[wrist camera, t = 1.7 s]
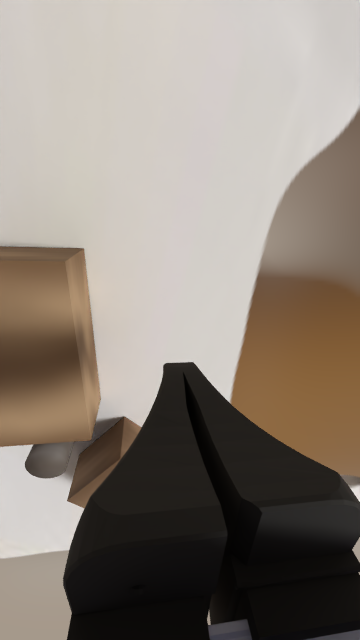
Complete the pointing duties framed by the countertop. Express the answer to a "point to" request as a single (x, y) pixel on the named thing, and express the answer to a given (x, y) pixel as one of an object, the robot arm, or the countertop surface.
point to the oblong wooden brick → (101, 460)
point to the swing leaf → (46, 355)
